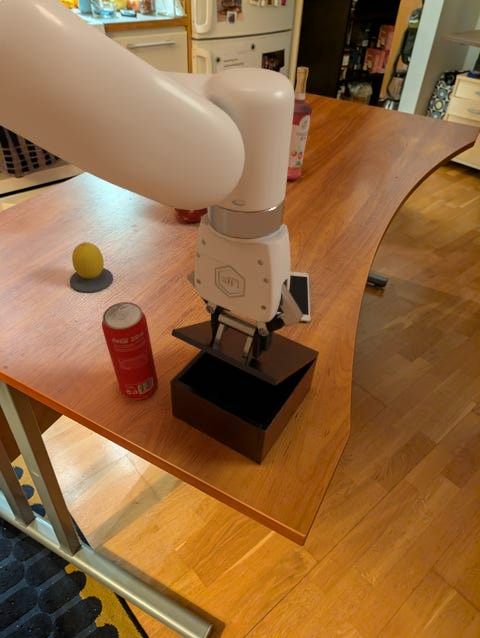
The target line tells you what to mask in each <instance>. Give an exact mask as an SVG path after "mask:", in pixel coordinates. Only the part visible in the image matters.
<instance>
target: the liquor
mask: <svg viewBox="0 0 480 638" xmlns="http://www.w3.org/2000/svg"><path fill="white" fill-rule="evenodd" d="M308 76H309V67H308V66H307V67H306V66H298V67H297V70H296V85H295V89H294V95H295V98H294V112H293V122H292V132H291V142H290V152H289V162H288V172H287V182H295V181H298V179H300V178H302V176H303V173H302V167H303V160H304V155H305V150H306V149H305V148H306V145H307V140H308V139H307V138H308V135H309V129H310V124H311V123H310V122H311V119H312V118H311V117H312V113H313V107H312V106H311V105H310V104H309V103H308V102H306V89H307V79H308Z"/></svg>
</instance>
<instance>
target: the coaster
mask: <svg viewBox="0 0 480 638" xmlns="http://www.w3.org/2000/svg"><path fill="white" fill-rule="evenodd" d="M113 281H114V277H113V273H112V272H111V271H110V270H109V269H107V268H105V267H103V270H102V272H101V273H100V274H99V275H98V276H97V277H95V278H93V279H87V278H83V277H81V276H80V275H79V274H78V273H77V272H76V271H75V272H74V273H73V274H71V276H70V278H69V284H70V287H71V288H72V290H74V291H76V292H78V293H81V294H83V293H84V294H94V293H99V292H101V291H104V290H106V289H107V288H109V287H110V286H111V285H112V283H113Z"/></svg>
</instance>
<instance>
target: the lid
mask: <svg viewBox="0 0 480 638" xmlns="http://www.w3.org/2000/svg"><path fill="white" fill-rule="evenodd" d="M218 323H220V324H219V328H218V331H217V334H216V337H215V339H213V338H212V327H211V319H210V320H205V321H201V322H197V323H193V324H189V325H186V326H182V327H178V328H174V329H172V331H171V336H172V337H174V338H175V339H177V340H180V341H182V342H183V343H186V344H188V345H190V346H193V347H195V348H197V349H198V350H200V351H201V350H203V351H205V352H207V353H209V354H211V355H213V356H215V357H217V358H219V359H221V360H223V361H225V362H227V363H229V364H231V365H233V366H235V367H237V368H239V369H241V370H244V371H246V372H248V373H250V374H252V375H254V376H256V377H258V378H260V379H262V380H264V381H266V382H268V383H270V384H272V385H274V386H275V385H277V384H278V383H280V382H281V381H283V380H284V379H285V378H287V377H288V376H290V375H291V374H293V373H294V372H296V371H297V370H299V369H300V368H302V367H303V366H305V365H306V364H308V363H309V362H310V361H312V360H313V359H315V358H316V357H318V356H319V354H320V351H318V350H315V349H313V348H311V347H309V346H306V345H304V344H302V343H300V342H297V341H295V340H292V339H290V338H288V337H286V336H284V335H282V334H279V333H277V332H276V331H273V338H272V344H271V347H270V348H269V350H268V351H267V352H266V351H264V352H263V353H262V354H261V355H260V356H259V358H258V359H257V358H254V357H253V355H252V352H253V336H254V333H255V332H256V331H257V329H258V328H257V324H256V322H253V321H252V320H251V319H250V320H249V319H247V318H245V317H244V316H242V315H241V316H240V315H239V314H237V313H235V312H232V311H230V312H229V311H227V310H223V311H222V312H221V313H220V315H219V317H218ZM226 327H228V328H229V329H228V330H227V331H226V332H225V329H226ZM224 332H225V333H224Z"/></svg>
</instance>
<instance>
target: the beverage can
mask: <svg viewBox="0 0 480 638" xmlns="http://www.w3.org/2000/svg"><path fill="white" fill-rule="evenodd" d="M148 326H149V325H148V321H147V317H146V314H145V313H144V312H143V311H142V309H141V306H139V305H138V304H136V303H134V302H131V301H130V302H129V301H123V302H122V301H121V302H117V303H113V304H112V305H110V306H109V307H108V308H106V309H105V311H104V312H103V315H102V321H101V328H102V329H101V330H102V333H103V336H104V339H105V343H106V347H107V351H108V354H109V357H110V361H111V364H112V368H113V371H114V375H115V379H116V382H117V386H118V389H119V392H120V393H121V395H123V397H125V398H127V399H129V400H135V401H136V400H142V399H146V398H148V397H149V396H151V395H152V393H154V392H155V390H156V389H157V387H158V375H157V369H156V364H155V359H154V353H153V348H152V343H151V336H150V332H149V331H150V330H149V327H148Z"/></svg>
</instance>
